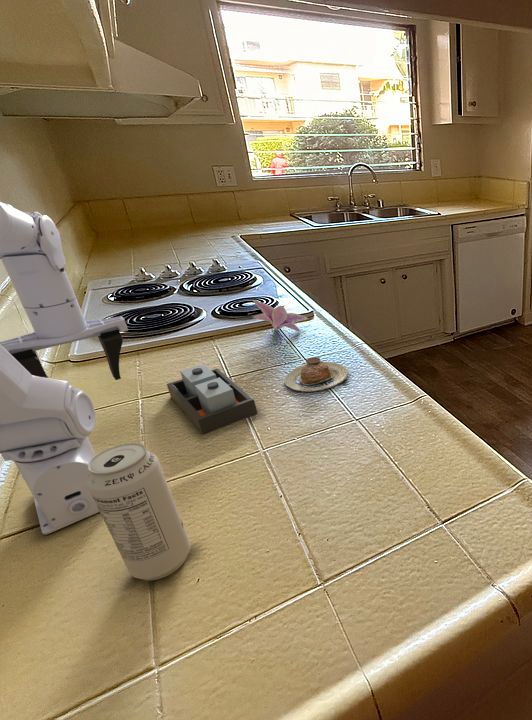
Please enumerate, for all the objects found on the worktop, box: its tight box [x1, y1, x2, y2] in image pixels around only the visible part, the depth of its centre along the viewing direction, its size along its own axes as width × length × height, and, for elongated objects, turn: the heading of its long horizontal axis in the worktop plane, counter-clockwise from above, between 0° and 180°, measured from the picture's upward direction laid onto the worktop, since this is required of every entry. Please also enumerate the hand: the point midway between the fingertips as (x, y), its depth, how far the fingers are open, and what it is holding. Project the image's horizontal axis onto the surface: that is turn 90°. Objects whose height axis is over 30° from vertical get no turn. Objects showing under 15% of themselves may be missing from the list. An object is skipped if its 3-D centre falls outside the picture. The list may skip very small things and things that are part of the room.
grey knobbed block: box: [195, 378, 236, 415], centre depth 79 cm, size 6×4×6 cm, turn 46°
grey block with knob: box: [179, 363, 217, 397], centre depth 84 cm, size 6×4×6 cm, turn 46°
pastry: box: [283, 356, 349, 393], centre depth 91 cm, size 12×12×5 cm
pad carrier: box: [166, 367, 258, 436], centre depth 82 cm, size 17×9×3 cm, turn 46°
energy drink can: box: [86, 442, 191, 582], centre depth 50 cm, size 6×6×15 cm
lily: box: [252, 300, 309, 343], centre depth 109 cm, size 12×12×10 cm
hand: (86, 386), depth 71 cm, fingers open, 7 cm apart
